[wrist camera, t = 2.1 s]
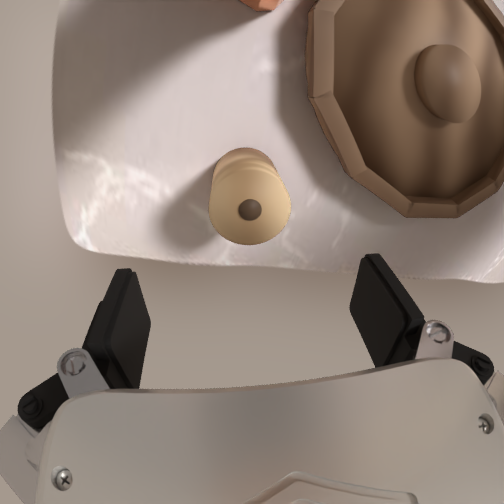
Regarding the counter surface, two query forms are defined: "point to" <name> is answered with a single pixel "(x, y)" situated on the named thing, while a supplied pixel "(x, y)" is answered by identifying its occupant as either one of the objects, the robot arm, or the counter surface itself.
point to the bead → (248, 198)
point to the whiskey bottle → (262, 4)
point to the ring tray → (412, 98)
